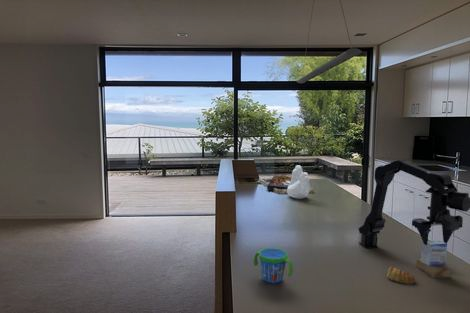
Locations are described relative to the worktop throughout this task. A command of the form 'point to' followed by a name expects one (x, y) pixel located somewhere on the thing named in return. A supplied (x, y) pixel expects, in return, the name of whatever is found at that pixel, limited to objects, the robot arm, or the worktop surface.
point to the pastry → (400, 276)
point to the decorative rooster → (298, 183)
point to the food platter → (279, 182)
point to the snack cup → (273, 264)
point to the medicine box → (434, 253)
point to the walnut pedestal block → (434, 269)
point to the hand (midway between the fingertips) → (435, 244)
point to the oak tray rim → (264, 182)
